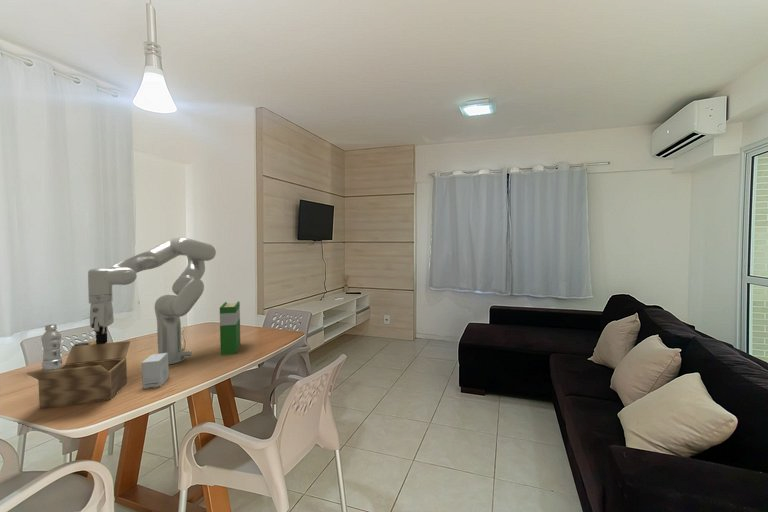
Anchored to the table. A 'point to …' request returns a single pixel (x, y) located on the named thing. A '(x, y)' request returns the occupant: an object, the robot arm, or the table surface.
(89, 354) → the right flap
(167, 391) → the table surface
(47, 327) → the plastic bottle
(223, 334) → the hardback book
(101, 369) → the left flap
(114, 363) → the carton
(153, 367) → the skincare box
